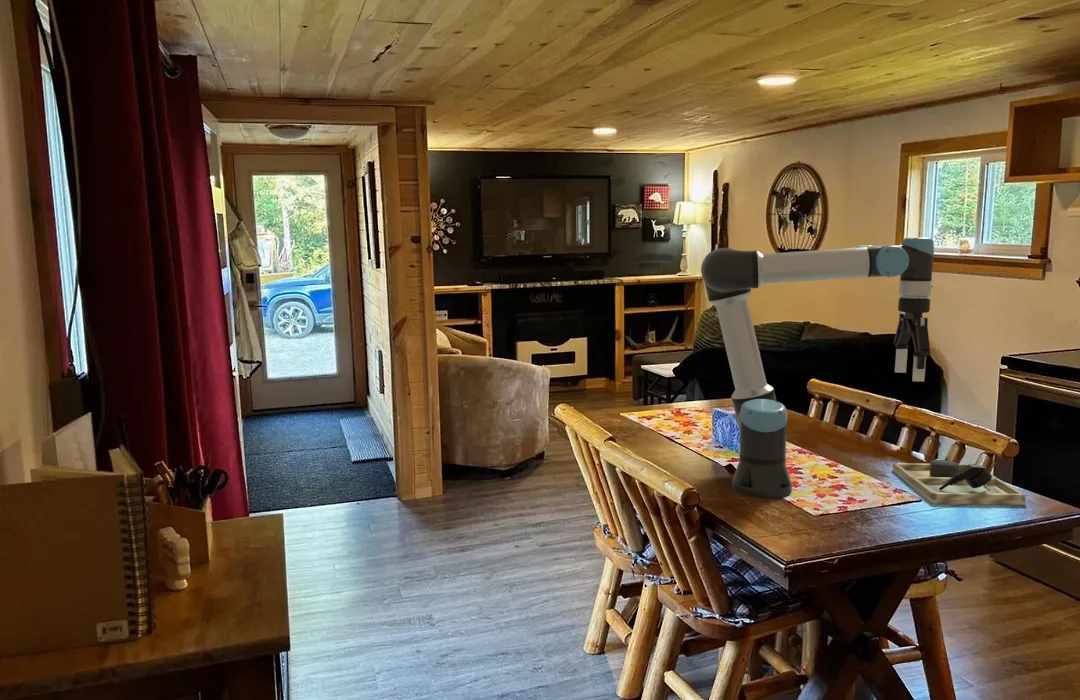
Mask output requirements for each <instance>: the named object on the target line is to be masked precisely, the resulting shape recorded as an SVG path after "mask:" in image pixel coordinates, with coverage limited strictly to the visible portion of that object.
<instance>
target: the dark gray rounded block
mask: <svg viewBox="0 0 1080 700" xmlns="http://www.w3.org/2000/svg"><path fill="white" fill-rule="evenodd" d="M929 464H930V475H931V476H933V477H953V475H954V474H956V473H957V472H958V471H959V464H960V463H958V462H957V461H952V460H945V459H932V460H930V461H929ZM954 476H955V475H954Z"/></svg>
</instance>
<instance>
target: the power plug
mask: <svg viewBox="0 0 1080 700" xmlns="http://www.w3.org/2000/svg"><path fill="white" fill-rule="evenodd" d="M967 464H968V465H967V466H965V467H964V468H962V469H961V470H959V471H958V472H957V473H956V474H954V475H955V476H954V475H953V477H951V479H950V481H949V480H947V482H948V483H946V484H945V485H943V486H942V487H940V488H939V489H940V490H942V489H944V488H945V487H947V486H948V485H951V486H952V485H953V484H955V483H957V482H959V481H962V480H964V479H965V480H966V481H967V483H968V484H969V485H970V486H971V487H972V488H979V487H981V486H983V488H985V489H987V491H991V489H990V488H989V487H988V486H987V482H989V481H990V480H991V478H992V475H993V474H992V475H991V473H990V471H989V470H988V469H987V468H986V467H985V466H984V465H978V464H975V465H971V464H972V463H967ZM956 481H957V482H956Z"/></svg>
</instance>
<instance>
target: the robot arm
mask: <svg viewBox="0 0 1080 700" xmlns="http://www.w3.org/2000/svg"><path fill="white" fill-rule="evenodd" d="M934 257H935V242H934V240H933V239H932V238H930V237H905V238H903V239H902V243H901V244H898V245H895V244H891V245H890V244H889V245H884V244H882V245H881V244H880V245H879V244H876V245H875V244H873V245H872V244H865V245H857V246H855V247H848V248H847V247H846V248H833V249H821V250H820V249H817V250H804V251H803V250H801V251H789V252H788V251H787V252H776V253H775V252H774V253H773V252H772V253H761V252H760V251H758V250H738V249H733V248H730V247H719V248H716V249H714V250H711V251H709V252H708V254H707V255H705V257H704V259H703V261H702V264H701V268H700V272H701V277H702V280H703V283H704V286H705V291H706V295H707V299H708V302H709V303H710V304H712V305H713V306H714V307H715V308H716V312H717V313H716V314H717V317H718V322H719V324H720V330H721V334H722V338H723V343H724V346H725V351H726V352H725V353H726V355H727V360H728V363H729V368H730V371H731V376H732V377H731V378H732V381H733V385H734V389H735V390H734V391H733V393H732V395H730V396H731V401H732V406H733V409H734V413H735V414H734V415H735V416H734V417H735V422H736V424H737V426H738V430H739V460H738V461H739V462H738V464H737V466H736V469H735V471H734V475H733V478H732V481H731V488H732V489H733V491H734V492H736V493H738V494H741V495H744V496H746V497H751V498H755V499H765V500H766V499H767V500H768V499H769V500H770V499H780V498H785V497H788V496H790V495H791V494H792V492H793V491H792V490H793V489H792V487H793V485H792V481H791V478H790V475H789V471H788V468H787V465H786V456H787V455H786V451H787V424H788V418H789V417H788V412H787V408H786V406H785V405H784V404H783V403H781V402H779V401H777V397H776V393H775V389H774V387H773V386H772V385H770V384H768V382H767V379H766V374H765V371H764V367H763V361H762V358H761V352H760V349H759V345H758V341H757V336H756V332H755V331H756V330H755V327H754V323H753V318H752V315H751V309H750V306H749V301H748V298H749V296H751V293H752V290H751V289H760V288H761V286H762V285H765V284H779V283H796V282H810V281H811V282H812V281H824V280H825V281H826V280H827V281H828V280H844V279H845V280H846V279H857V278H858V279H859V278H878V277H880V278H881V277H886V278H892V277H893V278H894V277H898V276H899V277H900V278H899V284H898V288H899V289H898V295H899V296H900V297H899V298H898V303H897V304H898V305H897V310H898V312H900V313H899V317H898V323H897V327H896V331H895V335H894V339H893V346H895V361H894V362H895V363H894V373H901V374H902V373H903V374H904V373H905V374H907V362H908V352H909V351H908V349H909V345H908V344H909V341H910V340H911V339H912V342H913V349H914V352H913V354H912V356H913V364H912V376H911V377H912V378H911V379H912V382H925V376H926V364H927V363H926V361H927V357H928V356H930V355H931V347H930V345H931V344H930V338H929V327H928V322H929V319H928V317H923V313H924V314H926V313H927V314H928V313H929V312H931V311H930V310H931V299H930V298H929V297H930V296H931V293H932V288H933V287H934V285H933V284H932V278H933V267H934V266H933V265H934Z"/></svg>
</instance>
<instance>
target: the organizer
mask: <svg viewBox="0 0 1080 700" xmlns="http://www.w3.org/2000/svg"><path fill="white" fill-rule="evenodd" d="M958 464H959V470H961V469H962V468H964V467H965V466H967V465H968V464H969V463H958ZM970 464H971V465H976V464H974V463H970ZM892 472H894V473H895V474H896V475H897V476H899V478H901V479H902V480H903V481H904V482H906V483H907V484H908V485H909V486H910V487H911V488H913V489H914V490H915V491H916V492H918V494H920V495H921V496H922V497H924V498H925V499H926V500H927V501H929V502H930V503H931V504H940V505H941V504H942V505H943V504H945V505H946V504H947V505H949V504H950V505H1000V506H1001V505H1007V506H1008V505H1009V506H1011V505H1013V506H1014V505H1019V506H1020V505H1021V506H1025V505H1026V500H1027V498H1026V497H1027V495H1026V494H1025V493H1023V492H1021V491H1020V490H1019V489H1017V488H1015V487H1013V486H1011V485H1010V484H1008V483H1007V482H1005V481H1003V480H1001V479H1000V478H998V477H997V476H995V475H993V474H991V473H990V474H991V475H992V478H991V480H990V481H989V482H987V486H988V487H989V488H990V489H991V491H987V489H985V488H983V486H981V487H979V488H972V487H971V486H970V485H969V484H968V483H967V481H966V480H965V479H964V480H962V481H959V482H957V481H956V482H957V483H955V484H953V485H952V486H951V485H948V486H947V487H945V488H944V489H942V490H940V489H939V488H940V487H942V486H943V485H945V484H946V483H948V482H947V480H949V481H950V479H951V477H933V476H931V475H930V463H916V462H915V463H908V462H907V463H902V462H901V463H900V462H896V463H894V462H893V463H892Z"/></svg>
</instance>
